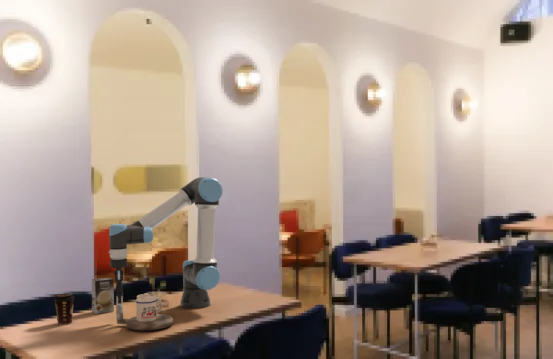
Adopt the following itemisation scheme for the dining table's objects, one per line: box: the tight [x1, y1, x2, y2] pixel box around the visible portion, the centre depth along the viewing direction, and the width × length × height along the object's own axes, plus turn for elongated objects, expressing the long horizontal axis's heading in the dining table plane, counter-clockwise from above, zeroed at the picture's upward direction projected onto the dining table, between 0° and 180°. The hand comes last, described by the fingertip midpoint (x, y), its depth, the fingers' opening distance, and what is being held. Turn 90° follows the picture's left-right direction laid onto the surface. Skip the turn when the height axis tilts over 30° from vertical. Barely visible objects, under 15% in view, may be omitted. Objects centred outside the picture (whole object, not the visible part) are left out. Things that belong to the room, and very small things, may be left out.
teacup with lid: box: [135, 292, 163, 322], centre depth 265 cm, size 12×9×12 cm
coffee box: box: [91, 277, 115, 315], centre depth 295 cm, size 9×6×16 cm
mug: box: [136, 293, 163, 311], centre depth 284 cm, size 8×13×10 cm, turn 137°
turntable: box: [115, 304, 174, 331], centre depth 264 cm, size 24×20×8 cm
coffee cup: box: [53, 292, 75, 326], centre depth 274 cm, size 9×8×13 cm
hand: (119, 309), depth 274 cm, fingers closed
